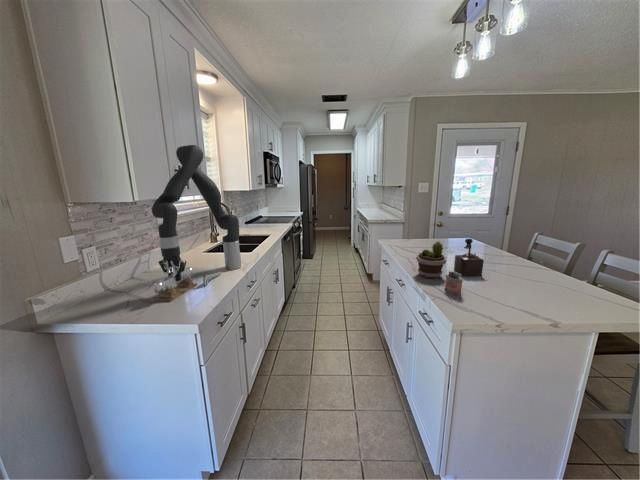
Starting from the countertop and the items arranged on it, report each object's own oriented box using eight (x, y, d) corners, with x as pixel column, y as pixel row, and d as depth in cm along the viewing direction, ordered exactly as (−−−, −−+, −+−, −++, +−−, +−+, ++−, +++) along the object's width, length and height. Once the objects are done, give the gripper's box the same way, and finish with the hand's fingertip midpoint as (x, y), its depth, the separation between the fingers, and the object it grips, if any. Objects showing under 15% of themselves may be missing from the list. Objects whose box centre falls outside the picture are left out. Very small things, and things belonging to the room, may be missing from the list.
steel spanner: (188, 274, 133) (187, 266, 132) (194, 274, 132) (193, 267, 131) (153, 292, 111) (151, 284, 110) (159, 293, 110) (158, 284, 109)
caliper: (205, 287, 129) (204, 275, 127) (203, 287, 129) (202, 275, 127) (222, 273, 149) (221, 263, 147) (220, 273, 149) (219, 263, 147)
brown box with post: (483, 276, 135) (488, 243, 131) (462, 276, 135) (466, 244, 131) (467, 267, 150) (470, 237, 146) (448, 267, 150) (451, 237, 146)
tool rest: (183, 284, 132) (181, 273, 131) (197, 285, 131) (195, 274, 130) (154, 300, 114) (152, 288, 113) (169, 301, 113) (167, 289, 112)
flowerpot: (422, 281, 130) (425, 243, 126) (411, 271, 145) (413, 237, 141) (450, 280, 131) (454, 242, 126) (436, 270, 146) (438, 236, 141)
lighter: (442, 289, 119) (444, 269, 117) (447, 288, 121) (449, 268, 119) (457, 296, 112) (459, 275, 110) (462, 295, 114) (465, 274, 111)
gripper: (188, 244, 120) (193, 278, 124) (162, 243, 122) (168, 277, 126) (177, 248, 113) (182, 284, 116) (150, 247, 115) (156, 282, 119)
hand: (175, 280), depth 121 cm, fingers closed on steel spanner, 3 cm apart
